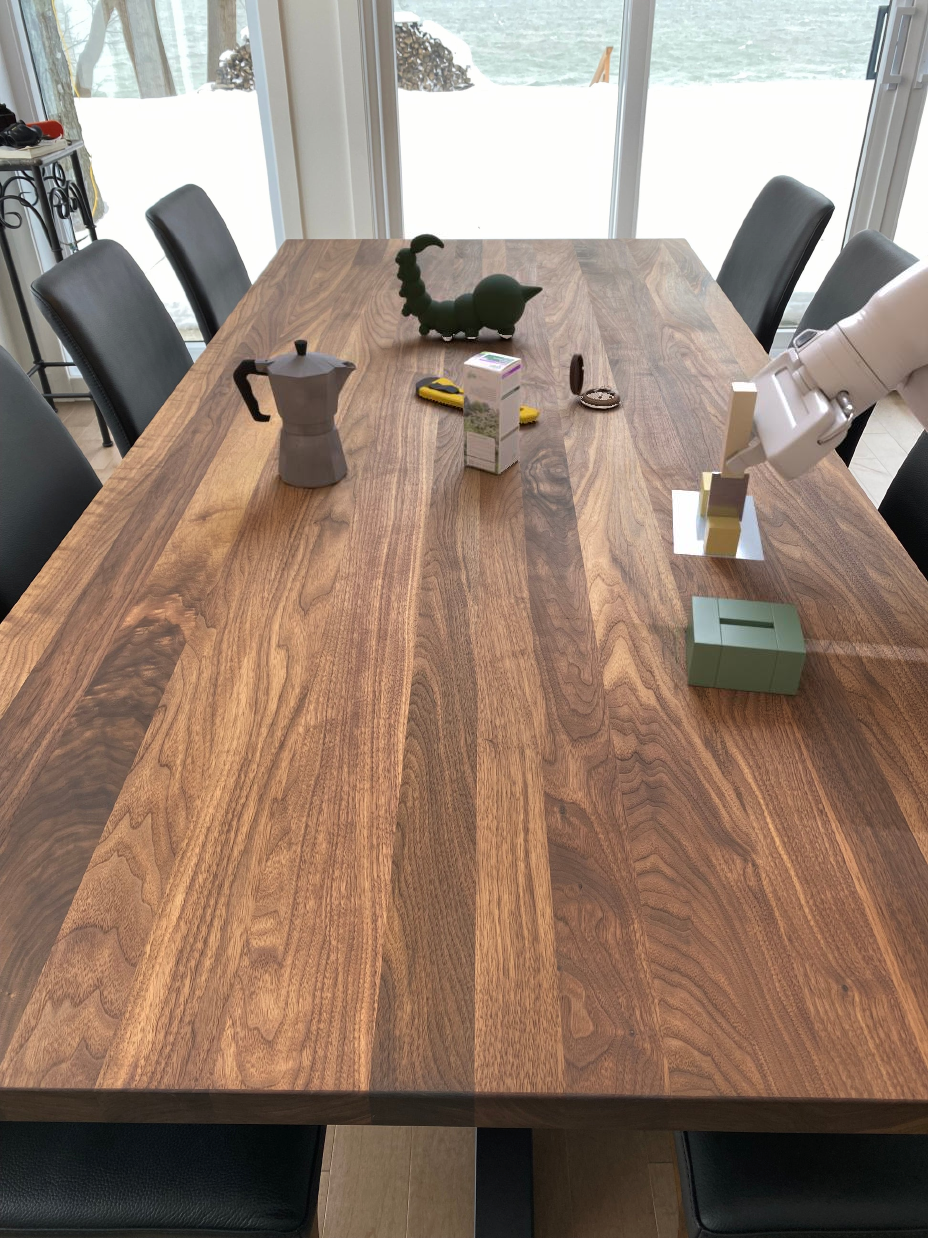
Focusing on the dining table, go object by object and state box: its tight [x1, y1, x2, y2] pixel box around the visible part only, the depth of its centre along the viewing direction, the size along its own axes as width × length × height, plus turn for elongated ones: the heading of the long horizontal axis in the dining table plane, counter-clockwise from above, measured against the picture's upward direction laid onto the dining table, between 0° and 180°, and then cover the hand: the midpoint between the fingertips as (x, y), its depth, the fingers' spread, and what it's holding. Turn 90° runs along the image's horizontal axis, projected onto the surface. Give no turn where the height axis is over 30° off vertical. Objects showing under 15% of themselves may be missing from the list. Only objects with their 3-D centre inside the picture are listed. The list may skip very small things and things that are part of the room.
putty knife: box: [706, 381, 758, 522], centre depth 106 cm, size 4×2×16 cm, turn 83°
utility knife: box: [415, 376, 540, 425], centre depth 149 cm, size 7×22×2 cm, turn 55°
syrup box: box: [462, 351, 522, 475], centre depth 128 cm, size 6×6×14 cm
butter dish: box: [671, 489, 765, 562], centre depth 117 cm, size 10×16×1 cm, turn 171°
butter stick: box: [698, 471, 713, 516], centre depth 119 cm, size 4×5×4 cm
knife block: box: [684, 595, 808, 696], centre depth 94 cm, size 8×10×5 cm
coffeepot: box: [232, 338, 357, 489], centre depth 125 cm, size 15×9×18 cm, turn 92°
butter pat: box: [703, 516, 741, 555], centre depth 110 cm, size 4×2×4 cm
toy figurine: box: [394, 233, 544, 338], centre depth 170 cm, size 9×19×25 cm
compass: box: [568, 353, 621, 406], centre depth 149 cm, size 8×8×7 cm
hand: (727, 460), depth 106 cm, fingers closed on putty knife, 2 cm apart
